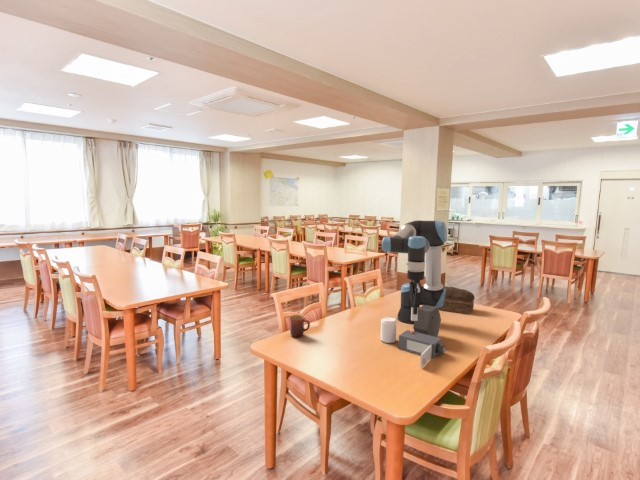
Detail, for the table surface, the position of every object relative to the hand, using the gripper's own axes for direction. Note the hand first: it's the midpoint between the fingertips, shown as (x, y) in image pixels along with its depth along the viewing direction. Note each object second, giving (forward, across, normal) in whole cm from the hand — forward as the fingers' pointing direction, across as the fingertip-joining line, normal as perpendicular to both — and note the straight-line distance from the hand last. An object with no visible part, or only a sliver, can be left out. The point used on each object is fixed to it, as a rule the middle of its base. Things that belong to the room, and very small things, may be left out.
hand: (414, 320), depth 166 cm
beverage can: (+20, -23, -7) cm, 32 cm away
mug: (+20, -29, -55) cm, 65 cm away
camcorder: (+20, -10, +7) cm, 24 cm away
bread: (+22, -83, +46) cm, 98 cm away
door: (+19, +3, +6) cm, 20 cm away
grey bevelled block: (+20, -27, +14) cm, 36 cm away
